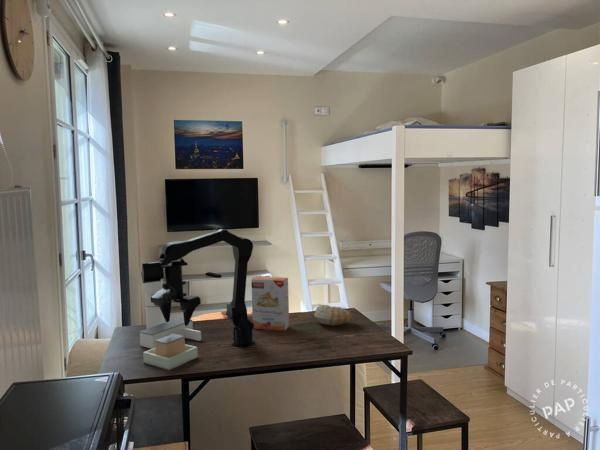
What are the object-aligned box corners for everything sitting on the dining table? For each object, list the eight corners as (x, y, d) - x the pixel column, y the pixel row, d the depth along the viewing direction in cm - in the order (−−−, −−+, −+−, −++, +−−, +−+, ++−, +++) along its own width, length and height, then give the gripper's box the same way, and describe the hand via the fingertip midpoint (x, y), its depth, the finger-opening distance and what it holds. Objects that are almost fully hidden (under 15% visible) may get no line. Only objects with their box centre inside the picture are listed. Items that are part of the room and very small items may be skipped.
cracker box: (252, 329, 189) (250, 278, 187) (257, 324, 195) (256, 275, 193) (284, 331, 185) (283, 280, 183) (289, 327, 191) (288, 276, 189)
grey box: (185, 355, 161) (184, 336, 160) (167, 363, 154) (166, 343, 153) (174, 352, 164) (173, 333, 163) (156, 360, 157) (155, 340, 156)
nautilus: (304, 318, 204) (336, 316, 208) (322, 330, 183) (357, 328, 188) (305, 300, 203) (336, 299, 208) (322, 310, 183) (357, 308, 188)
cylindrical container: (167, 327, 194) (164, 268, 192) (160, 333, 187) (157, 271, 184) (151, 327, 195) (147, 268, 192) (143, 333, 188) (140, 272, 185)
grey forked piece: (140, 345, 173) (139, 331, 173) (180, 330, 190) (180, 317, 190) (169, 353, 165) (169, 338, 164) (209, 336, 182) (209, 323, 181)
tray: (197, 357, 161) (197, 347, 160) (169, 370, 150) (168, 359, 150) (172, 350, 167) (171, 340, 167) (143, 362, 157) (143, 352, 157)
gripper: (136, 281, 157) (139, 326, 159) (175, 287, 147) (178, 335, 149) (162, 275, 167) (165, 317, 168) (200, 279, 157) (203, 324, 158)
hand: (176, 323), depth 161 cm, fingers open, 9 cm apart
